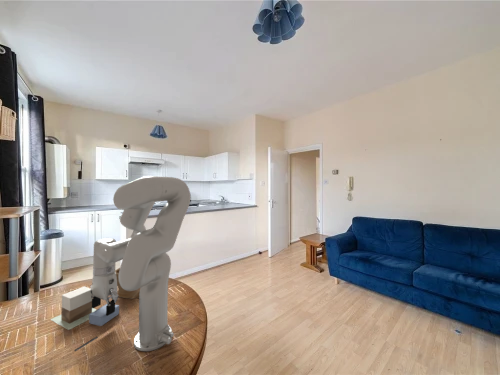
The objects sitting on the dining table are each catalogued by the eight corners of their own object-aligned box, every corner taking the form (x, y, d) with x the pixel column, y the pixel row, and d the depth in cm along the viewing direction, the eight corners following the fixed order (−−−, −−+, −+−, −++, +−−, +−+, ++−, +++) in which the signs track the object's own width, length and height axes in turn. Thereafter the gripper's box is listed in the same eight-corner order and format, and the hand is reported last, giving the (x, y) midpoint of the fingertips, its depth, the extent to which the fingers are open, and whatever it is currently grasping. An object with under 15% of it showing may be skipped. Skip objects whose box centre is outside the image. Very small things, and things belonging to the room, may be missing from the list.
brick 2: (91, 312, 88) (92, 300, 88) (69, 323, 81) (69, 311, 81) (84, 308, 91) (84, 297, 91) (61, 319, 83) (61, 307, 83)
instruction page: (98, 337, 75) (98, 337, 75) (75, 351, 69) (75, 351, 69) (84, 330, 79) (84, 329, 79) (61, 342, 73) (61, 342, 73)
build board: (102, 315, 88) (102, 312, 88) (68, 333, 77) (68, 330, 77) (84, 306, 94) (84, 304, 94) (50, 322, 83) (50, 319, 83)
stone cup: (107, 299, 100) (107, 269, 100) (128, 288, 111) (128, 260, 111) (131, 305, 96) (131, 273, 95) (150, 292, 107) (150, 264, 107)
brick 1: (92, 300, 88) (92, 289, 88) (70, 311, 81) (70, 298, 81) (84, 297, 91) (84, 286, 91) (61, 307, 83) (61, 295, 83)
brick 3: (119, 316, 87) (119, 305, 87) (101, 329, 80) (101, 316, 80) (107, 314, 89) (107, 303, 89) (89, 326, 81) (89, 314, 81)
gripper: (126, 270, 84) (125, 311, 84) (101, 261, 91) (100, 299, 92) (107, 277, 77) (106, 322, 78) (82, 267, 84) (80, 308, 85)
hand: (103, 310), depth 85 cm, fingers open, 9 cm apart
